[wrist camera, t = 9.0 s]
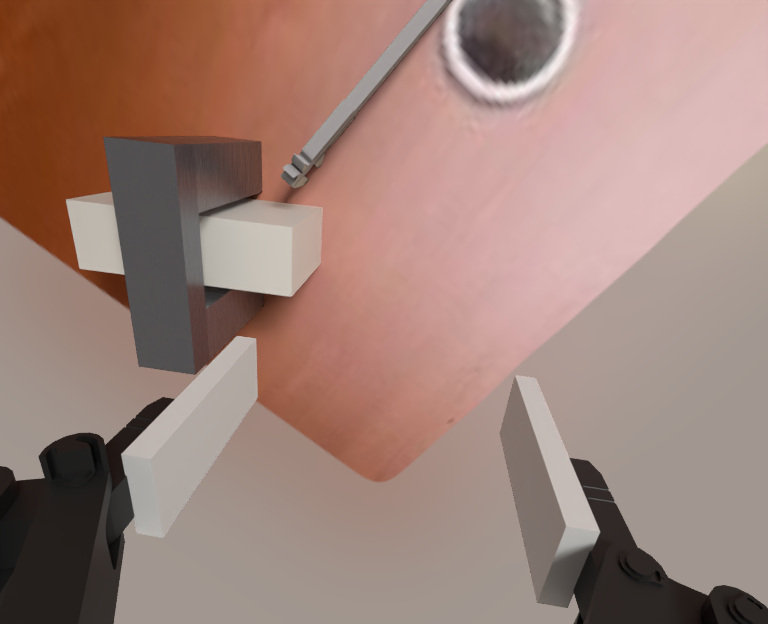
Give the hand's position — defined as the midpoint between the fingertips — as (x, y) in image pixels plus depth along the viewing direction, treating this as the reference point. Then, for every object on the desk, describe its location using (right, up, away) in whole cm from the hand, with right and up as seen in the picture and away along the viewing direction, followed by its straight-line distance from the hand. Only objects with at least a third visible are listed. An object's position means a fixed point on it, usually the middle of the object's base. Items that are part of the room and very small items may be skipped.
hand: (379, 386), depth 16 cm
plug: (-13, +11, +21) cm, 27 cm away
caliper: (0, +21, +15) cm, 26 cm away
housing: (-12, +10, +21) cm, 26 cm away
